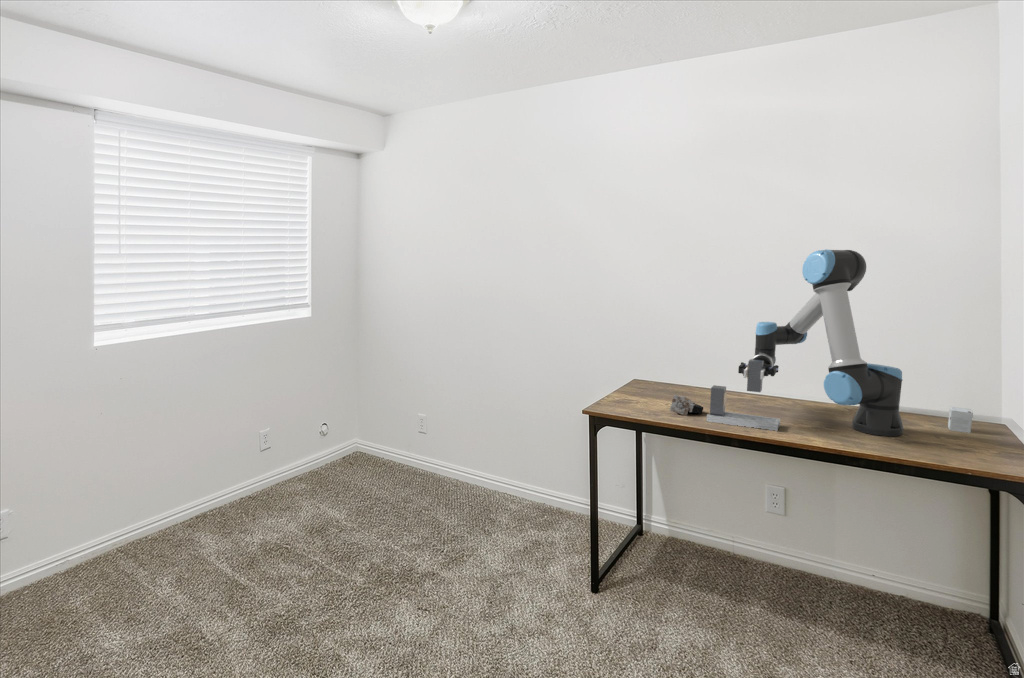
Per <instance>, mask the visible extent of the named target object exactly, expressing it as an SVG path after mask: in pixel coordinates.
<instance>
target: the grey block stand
mask: <svg viewBox="0 0 1024 678" xmlns="http://www.w3.org/2000/svg"><path fill="white" fill-rule="evenodd" d="M709 402H710V404H709V414H708V413H707V414H706V422H708V423H717V424H722V423H723V424H724V425H731V426H737V425H738V426H737V427H744V426H746V427H745V428H751V427H754V428H753V429H758V428H761V430H765V429H769V430H768V431H773V430H775V432H778V430H779V429H778V428H780V426H781V418H778V417H771V416H770V417H769V416H765V415H764V416H762V415H756V414H755V415H754V414H746V413H740V412H739V413H738V412H732V411H726V404H727V386H724V385H715V384H714V385H712V386H711V387H710V401H709Z"/></svg>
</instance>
